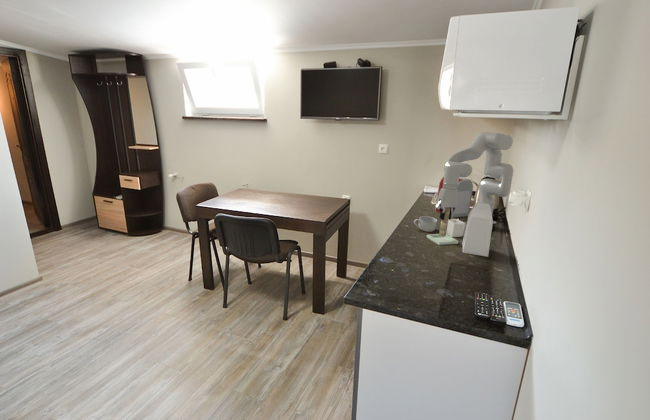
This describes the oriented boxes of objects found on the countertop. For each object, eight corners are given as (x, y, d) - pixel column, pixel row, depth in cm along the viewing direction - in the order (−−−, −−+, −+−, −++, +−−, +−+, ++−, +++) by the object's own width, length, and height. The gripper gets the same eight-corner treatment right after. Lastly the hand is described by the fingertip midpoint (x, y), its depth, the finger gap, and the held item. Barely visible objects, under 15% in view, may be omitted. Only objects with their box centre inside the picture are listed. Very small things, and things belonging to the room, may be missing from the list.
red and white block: (451, 209, 251) (456, 174, 243) (469, 215, 236) (475, 179, 228) (434, 210, 244) (439, 175, 237) (451, 217, 229) (457, 180, 221)
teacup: (433, 228, 204) (435, 216, 202) (437, 234, 194) (439, 221, 192) (411, 227, 205) (412, 215, 203) (413, 232, 195) (415, 220, 193)
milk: (462, 252, 169) (471, 204, 162) (461, 244, 179) (469, 199, 172) (488, 256, 165) (497, 207, 158) (485, 248, 175) (494, 202, 168)
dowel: (443, 233, 184) (447, 206, 180) (447, 235, 181) (451, 208, 176) (437, 233, 183) (442, 206, 179) (441, 236, 180) (446, 208, 175)
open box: (454, 233, 198) (456, 219, 195) (462, 237, 191) (465, 223, 188) (443, 233, 195) (446, 219, 193) (451, 238, 188) (454, 223, 186)
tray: (444, 237, 190) (444, 233, 190) (457, 244, 179) (458, 241, 179) (426, 238, 187) (426, 234, 186) (438, 246, 176) (439, 242, 175)
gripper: (458, 185, 180) (453, 216, 185) (432, 185, 175) (428, 217, 180) (467, 188, 173) (462, 220, 178) (441, 188, 168) (436, 222, 173)
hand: (445, 218), depth 179 cm, fingers closed on dowel, 3 cm apart
